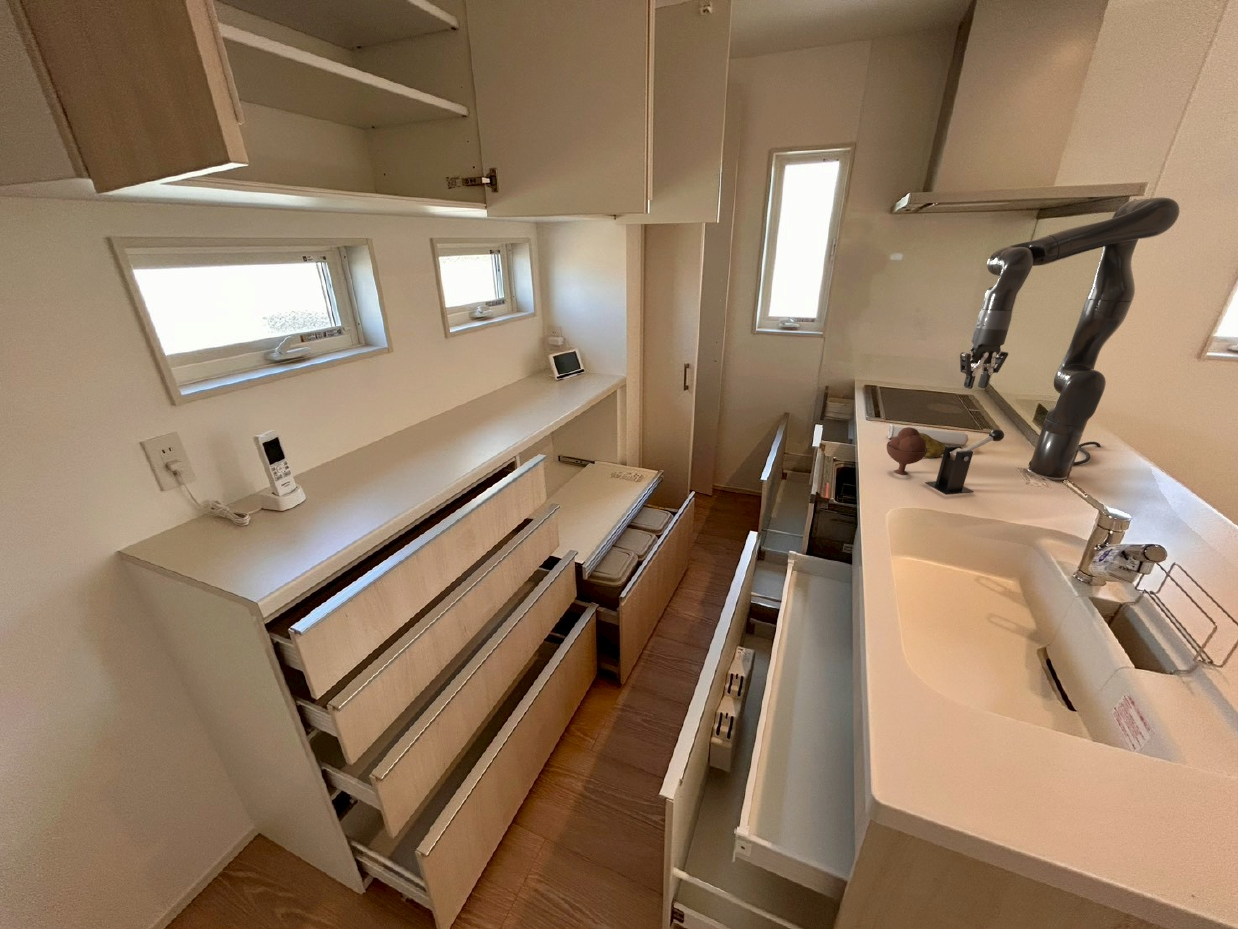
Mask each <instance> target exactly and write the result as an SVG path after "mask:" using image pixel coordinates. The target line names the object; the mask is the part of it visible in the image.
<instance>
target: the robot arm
mask: <svg viewBox="0 0 1238 929" xmlns="http://www.w3.org/2000/svg"><path fill="white" fill-rule="evenodd" d="M1179 216H1180V205H1179V203H1178V202H1177V201H1176V200H1175V199H1172V198H1170V197H1164V196H1163V197H1162V196H1161V197H1151V198H1139V199H1134V200H1129V201H1127V202H1124V203H1123V204H1122V205H1121V206H1120V207H1119V208H1117V210H1116V211H1115V212H1114V213H1113V215H1112V216H1111V218H1109V219H1105V220H1103V221H1097V222H1094V223H1089V224H1085V225H1080V226H1079V225H1078V226H1076V227H1072V228H1067V229H1063V230H1060V231H1057V232H1054V233H1050V234H1048V235H1045V236H1043V237H1040V238H1037V239H1033V240H1030V241H1024V242H1020V243H1016V244H1012V245H1008V246H1005V247H1002V248H1000V249H998V250H996V251H995V252H993V253H992V254H991V255H990V256H989V258H988V260H987V263H986V267H987V270H988V272H989V273H990V274H991V275H994V276H995V277H996V276H997V277H999V278H998V280H997V282H996V284H995V285H993V286H991V287H988V288H987V290H986V291H985V294H984V297H983V302H982V304H981V309H980V311H979V314H978V316H977V318H976V323H975V327H974V330H973V331H974V332H973V334H972V338H971V343H972V347H971V348H970V350H969V351H967V352H963V351H962V352H960V353H959V364H960V366H959V368H960V373H963V374H965V379H964V382H963V387H964V388H965V389H968V390H972V389H973V387H974V384H975V380H976V377H977V376H976V375H977V373H978V371H979V369H981V374H980V377H979V380H978V384H977V387H978V388H980V389H986V388H987V386H988V384H989V382H990V379H991V376H993V374H997V373H998V374H999V372H1000V371H1001V368H1002V367H1003V365H1004V363H1005V362H1006V359H1007V358H1008V356H1009V352H1008V351H1003V350H1001V349H1002V348H1001V346H1003V345H1004V344H1006V339H1007V335H1008V333H1009V329H1010V325H1011V322H1012V318H1013V311H1014V308H1015V304H1016V302H1017V301H1016V300H1017V296H1018V294H1019V292H1020V291H1021V289H1022V287H1023V286H1024V284H1025V282H1026V280H1027V278H1028V277H1029V275H1030V273H1031V272H1032V269H1033V267H1039V266H1046V265H1049V264H1052V263H1055V262H1056V263H1057V262H1058V261H1062V260H1065V259H1068V258H1071V257H1074V256H1077V255H1082V254H1084V253H1087V252H1090V251H1094V250H1097V249H1100V248H1102V252H1101V256H1100V260H1099V262H1098V266H1097V269H1096V272H1095V274H1094V277H1093V281H1092V283H1091V286H1090V289H1089V292H1088V294H1087V296H1086V299H1085V302H1084V305H1083V307H1082V310H1081V312H1080V316H1079V319H1078V322H1077V324H1076V327H1075V330H1074V333H1073V336H1072V339H1071V341H1070V343H1069V347H1068V349H1067V351H1066V352H1065V355H1064V357H1063V359H1062V361H1061V363H1060V365H1059V367H1058V369H1057V371H1056V374H1055V376H1054V377H1053V387H1054V390H1055V392H1057V393H1058V394H1060V396H1059V398H1058V401H1057V404H1056V405H1055V406H1054V407H1052V408H1050V409H1048V411H1047V413H1046V415H1045V418H1044V421H1043V423H1042V424H1043V425H1042V428H1041V430H1040V433H1039V436H1038V440H1037V442H1036V445H1035V448H1034V450H1033V454H1032V457H1031V459H1030V461H1029V462H1028V465H1027V467H1028V468H1027V471H1028V472H1030V473H1032V474H1034V475H1037V476H1040V477H1042V478H1045V479H1046V480H1048V481H1052V482H1053V481H1054V482H1063V481H1065V480H1064V479H1066V480H1067V479H1068V478H1069V477H1070V474H1071V472H1072V469H1073V467H1074V466H1078V465H1082V464H1085V463H1087V462H1089V461H1090V459H1091V454H1090V453H1089V452H1088V451H1087V450H1086V449H1084V448H1082V447H1085V446H1091V445H1094V446H1096V447H1097V448H1101V447H1102V445H1101V444H1100V443H1099V442H1098V441H1085V442H1083V443H1081V440H1082V437H1083V434H1084V432H1085V429H1086V426H1087V424H1088V421H1089V420H1090V419H1091V418H1092V417H1093V416H1094V414H1095V413H1096V411H1097V408H1098V406H1099V403H1100V402H1101V399H1102V397H1103V395H1104V392H1105V390H1106V383H1107V379H1106V377H1105V374H1103V373H1102V372H1100V371H1099V370H1096V369H1095V367H1096V364H1097V361H1098V357H1099V355H1100V353H1101V351H1102V349H1103V347H1104V346H1105V344H1106V343H1107V342H1108V340H1109V339H1110V338H1111V337H1112V336H1113V335H1114V334H1115V333H1116V331H1118V329H1119V328H1120V327H1121V326H1122V324H1123V323H1124V321H1125V320H1126V317H1127V315H1128V314H1129V311H1130V308H1131V306H1132V304H1133V300H1134V298H1135V294H1136V284H1135V278H1134V274H1133V268H1132V260H1133V257H1134V256H1133V255H1134V253H1135V249H1136V247H1137V244H1138V242H1139V240H1142V239H1144V240H1145V239H1151V238H1154V237H1155V238H1156V237H1158V236H1160V235H1162V234H1164V233H1165V232H1167V231H1169V230H1170V229H1171V228H1172V227H1173V226H1174V225H1175V223H1176V222H1177V220H1179V219H1178V218H1179ZM1079 452H1081V453H1082V454H1084V455H1085V458H1084V459H1082V460H1079V461H1078V460H1077V461H1076V459H1077V456H1078V454H1079Z"/></svg>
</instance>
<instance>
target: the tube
mask: <svg viewBox="0 0 1238 929" xmlns="http://www.w3.org/2000/svg"><path fill="white" fill-rule="evenodd" d="M907 427H908V426H904V425H894V424H889V427H888V432H887V438H888V440H891V439H892V438H894V437H895V436H897V435H898V433H899V432H900V431H901V430H902V429H903V428H907ZM911 427H912V428H915V429H916V430H917V431H918V432H920V433H925V434H927V435H929V436H930V437H931V438H933V439H935V440H938V441H940V442H942V443H943V444H945V445H946V446H957V445H959V446H962V447H963V446H967V444H968V442H969V434H968V433H965V432H964V431H963V432H962V431H953V430H942V429H933V428H924V427H913V426H911Z"/></svg>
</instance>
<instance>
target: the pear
mask: <svg viewBox="0 0 1238 929" xmlns="http://www.w3.org/2000/svg"><path fill="white" fill-rule="evenodd" d="M919 434H920V437H922V438H923V439H924V440H925V442H926V448H928V450H927V453H926V455H925V456H924V458H931V459H932V458H933V459H934V458H938V457H942V456H943V454H944V450H945V446H947V444H943V443H942V442H940V441H938V440H935V439H933V438H931V437H930V436H929V435H927V434H925V433H920V432H919Z"/></svg>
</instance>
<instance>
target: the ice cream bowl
mask: <svg viewBox="0 0 1238 929" xmlns="http://www.w3.org/2000/svg"><path fill="white" fill-rule="evenodd" d="M906 427H907V428H903V429H902V430H901V431H900V432H899V433H898V435H897V436H895V437H894V438H891V439H889V441H887V443H886V452H887V454H888V456H889V457H890V459H892V460H894V461H895V462H896V463H898V464H899V466H898V469H894V470H893V473H895V474H897V475H900V476H907V475H909V472H907V471H906V466H907V465H912V464H916V463H918V462H920V461H922V460H924V458H925V457H924V456H925V455H926V453H927V450H928V448H926V442H925V440H924V439H923V438H922V437H920V434H919V432H918V431H917V430H916V429H915V428H916V427H915V428H912V427H913V426H906Z"/></svg>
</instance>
